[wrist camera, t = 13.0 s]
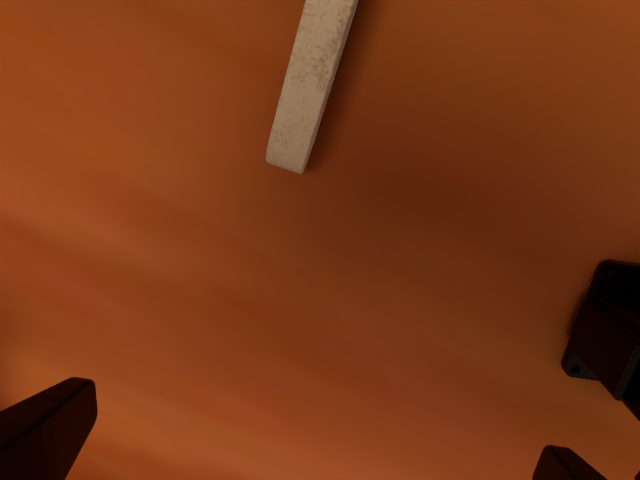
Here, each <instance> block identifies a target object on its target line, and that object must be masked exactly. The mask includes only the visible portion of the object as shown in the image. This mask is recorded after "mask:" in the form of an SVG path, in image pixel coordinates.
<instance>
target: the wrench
mask: <svg viewBox="0 0 640 480" xmlns="http://www.w3.org/2000/svg"><path fill="white" fill-rule="evenodd" d="M358 1H359V0H306V1H305V4H304V8H303V12H302V16H301V19H300V23H299V27H298V31H297V35H296V38H295V42H294V46H293V50H292V54H291V57H290V61H289V65H288V69H287V73H286V76H285V80H284V84H283V88H282V92H281V95H280V99H279V103H278V107H277V111H276V114H275V118H274V122H273V126H272V129H271V133H270V137H269V141H268V146H267V151H266V161H267V163H269V164H272V165H275V166H278V167H281V168H284V169H286V170H289V171H292V172H295V173H298V174H302V173H303V172H304V169H305V167H306V164H307V162H308V159H309V156H310V153H311V150H312V147H313V144H314V141H315V138H316V135H317V131H318V128H319V125H320V122H321V119H322V116H323V113H324V109H325V106H326V103H327V100H328V97H329V94H330V90H331V87H332V84H333V81H334V78H335V74H336V71H337V68H338V65H339V62H340V59H341V55H342V52H343V49H344V46H345V43H346V39H347V36H348V33H349V30H350V27H351V24H352V20H353V17H354V14H355V11H356V8H357V4H358Z"/></svg>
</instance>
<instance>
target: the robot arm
mask: <svg viewBox="0 0 640 480" xmlns="http://www.w3.org/2000/svg"><path fill="white" fill-rule="evenodd" d="M612 268H614V271H613V272H612V273H611V274H608V275H607V272H608V271H609V270H610V269H612ZM568 344H569V345H568V348H567V351H566V353H565V356H564V358H563V361H562V365H561V367H562V369H563V370H564V372H565V373H566V374H567V375H568V376H570V377H575V378H582V379H590V380H597V381H600V382H601V383H602V385H603V386H604V387H605V388H606V389H607V390H608V392H609V393H610V394H611V395H612V396H613V397H614V399H616V400H618V401H622V402H623V403H624V404H625V405H626V407H627V408H628V409H629V410H630V411H631V412H632V413H633V415H634V416H635V417H636V418H637V419H638V420H639V421H640V264H636V263H629V262H621V261H613V260H607V261H605V262H603V263H602V264H600V265H599V267H598V269H597V271H596V274H595V277H594V279H593V282H592V285H591V287H590V290H589V293H588V295H587V298H586V300H585V301H584V302H583V304H582V307H581V310H580V312H579V315H578V318H577V320H576V323H575V326H574V328H573V331H572V333H571V336H570V339H569V341H568ZM573 365H576V366H575V367H574V368H571V367H572V366H573ZM96 418H97V400H96V388H95V383H94V381H93V380H91V379H86V378H79V377H71V378H69V379H66V380H64V381H62V382H60V383H58V384H56V385H54V386H52V387H50V388H48V389H46V390H44V391H42V392H40V393H37V394H35V395H33V396H31V397H29V398H27V399H25V400H23V401H21V402H19V403H17V404H15V405H13V406H11V407H9V408H6V409H4V410H2V411H0V480H65V478H66V476H67V475H68V473H69V471H70V469H71V467H72V465H73V463H74V461H75V460H76V458H77V456H78V454H79V452H80V450H81V448H82V446H83V445H84V443H85V441H86V439H87V437H88V435H89V433H90V431H91V430H92V428H93V426H94V424H95V421H96ZM532 480H607V479H606V478H605V477H604V476H602V475H601V474H600V473H599V472H598V471H596V470H595V469H594V468H593V467H592V466H590V465H589V464H588V463H587V462H586V461H584V460H583V459H582V458H581V457H580V456H578V455H577V454H576V453H575V452H573V451H572V450H571V449H569V448H566V447H560V446H553V445H547V446H546V447H544V449H543V451H542V453H541V456H540V458H539V461H538V463H537V466H536V468H535V471H534V473H533V478H532ZM635 480H640V471H639V472H638V474H637V475H636V476H635Z"/></svg>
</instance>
